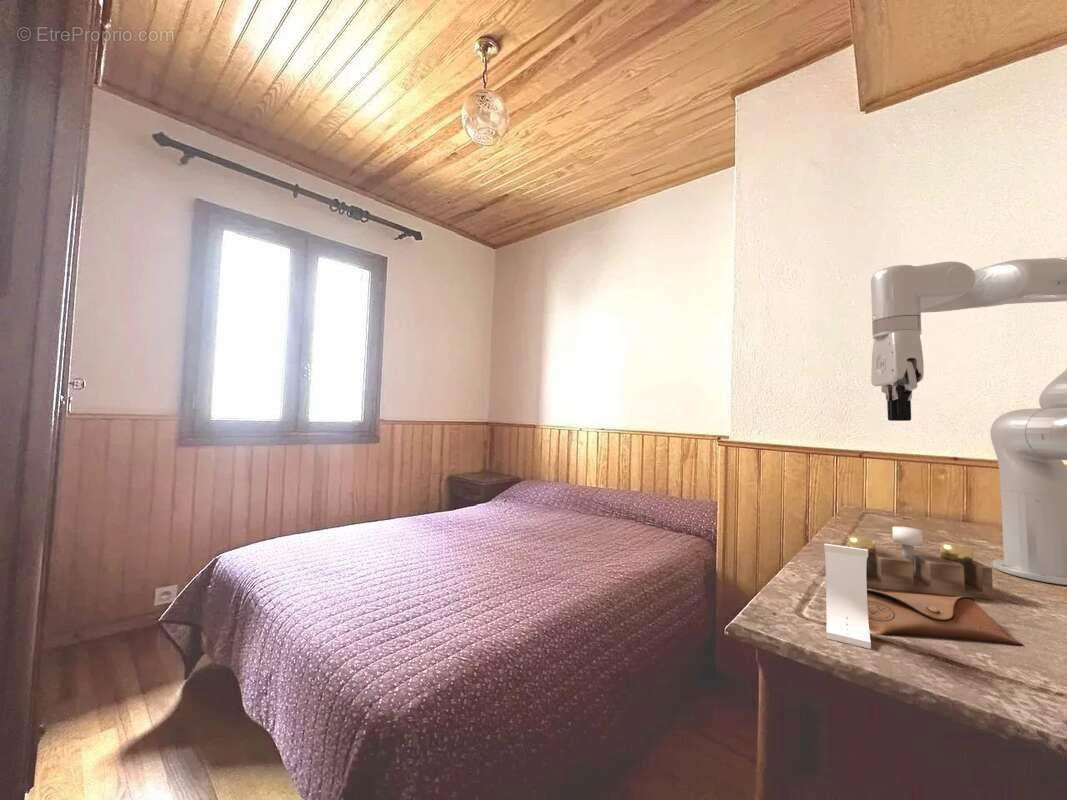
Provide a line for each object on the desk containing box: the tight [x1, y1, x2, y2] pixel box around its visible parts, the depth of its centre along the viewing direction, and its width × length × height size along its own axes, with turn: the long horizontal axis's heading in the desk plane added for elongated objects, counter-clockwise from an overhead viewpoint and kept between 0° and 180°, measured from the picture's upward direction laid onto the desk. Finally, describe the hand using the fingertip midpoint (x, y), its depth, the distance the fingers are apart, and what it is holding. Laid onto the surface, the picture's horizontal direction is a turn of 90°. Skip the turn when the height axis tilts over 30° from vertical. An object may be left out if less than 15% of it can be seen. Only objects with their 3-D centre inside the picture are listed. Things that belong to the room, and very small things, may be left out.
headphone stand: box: [823, 543, 872, 650], centre depth 58 cm, size 5×6×12 cm
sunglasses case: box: [867, 589, 1024, 646], centre depth 61 cm, size 18×7×7 cm
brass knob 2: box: [939, 541, 974, 565], centre depth 75 cm, size 4×4×6 cm
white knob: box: [892, 526, 924, 567], centre depth 77 cm, size 4×4×6 cm
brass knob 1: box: [847, 534, 877, 575], centre depth 78 cm, size 4×4×6 cm
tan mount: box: [837, 544, 994, 600], centre depth 76 cm, size 19×8×5 cm, turn 74°
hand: (899, 420), depth 86 cm, fingers closed
